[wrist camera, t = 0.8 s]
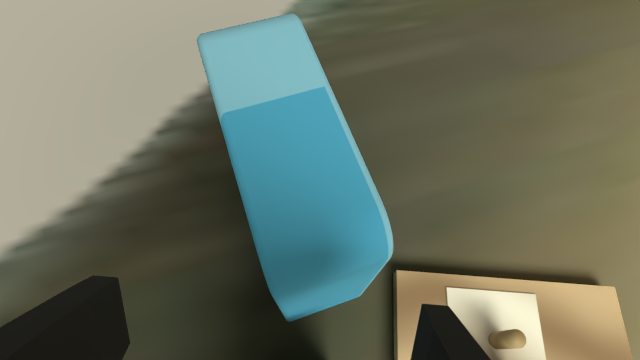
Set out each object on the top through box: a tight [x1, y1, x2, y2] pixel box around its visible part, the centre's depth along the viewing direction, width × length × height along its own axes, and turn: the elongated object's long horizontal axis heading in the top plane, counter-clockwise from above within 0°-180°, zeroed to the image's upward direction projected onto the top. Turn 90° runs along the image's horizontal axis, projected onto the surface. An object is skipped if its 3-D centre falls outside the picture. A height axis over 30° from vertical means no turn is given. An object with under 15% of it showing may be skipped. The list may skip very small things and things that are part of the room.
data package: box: [197, 14, 393, 322], centre depth 20 cm, size 12×4×12 cm, turn 19°
